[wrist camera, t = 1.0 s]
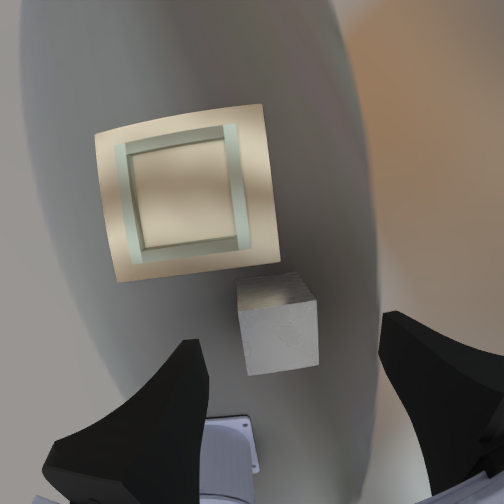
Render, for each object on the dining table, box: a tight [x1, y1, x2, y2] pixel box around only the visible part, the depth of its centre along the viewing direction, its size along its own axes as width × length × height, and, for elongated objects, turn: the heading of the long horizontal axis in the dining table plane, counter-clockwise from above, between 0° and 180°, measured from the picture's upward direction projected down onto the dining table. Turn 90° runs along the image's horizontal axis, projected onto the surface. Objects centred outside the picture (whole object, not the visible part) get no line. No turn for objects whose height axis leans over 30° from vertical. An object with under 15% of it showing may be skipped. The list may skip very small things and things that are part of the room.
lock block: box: [237, 272, 319, 376], centre depth 21 cm, size 4×4×6 cm
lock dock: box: [95, 104, 281, 282], centre depth 20 cm, size 11×12×2 cm
